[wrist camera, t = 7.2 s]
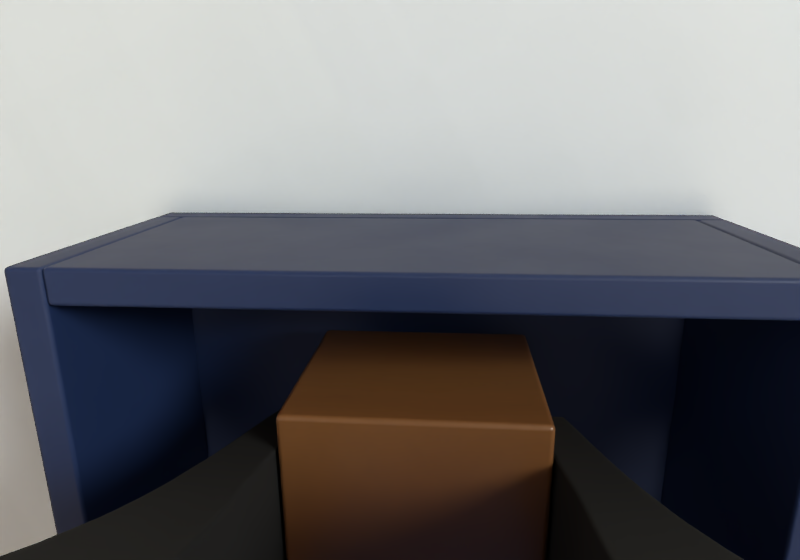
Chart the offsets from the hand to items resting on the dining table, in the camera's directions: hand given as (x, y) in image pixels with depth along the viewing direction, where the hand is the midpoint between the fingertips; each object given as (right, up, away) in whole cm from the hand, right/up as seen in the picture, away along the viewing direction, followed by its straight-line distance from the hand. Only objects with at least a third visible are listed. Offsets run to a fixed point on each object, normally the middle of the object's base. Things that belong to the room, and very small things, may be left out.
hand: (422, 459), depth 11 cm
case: (0, 0, +3) cm, 3 cm away
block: (0, 0, +1) cm, 1 cm away
